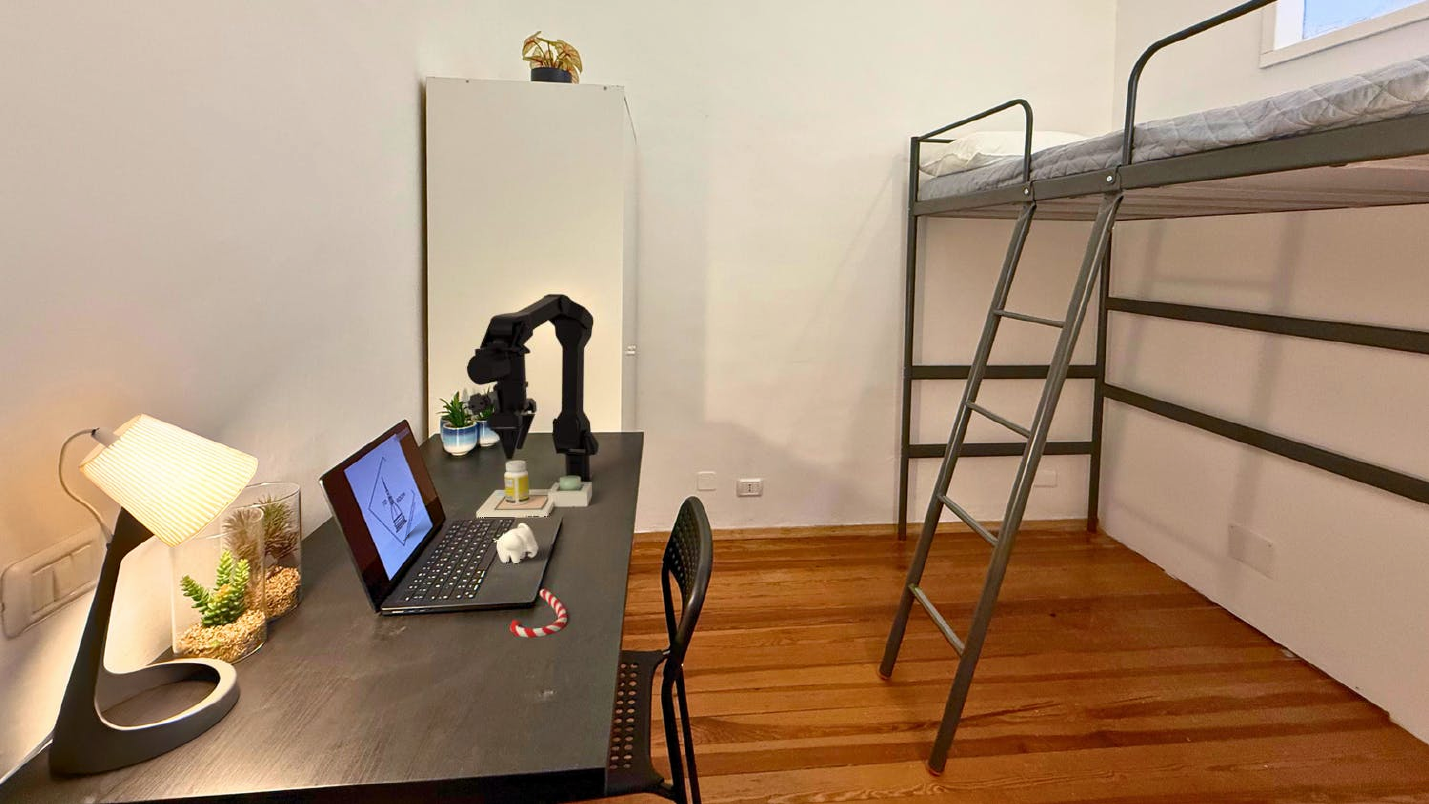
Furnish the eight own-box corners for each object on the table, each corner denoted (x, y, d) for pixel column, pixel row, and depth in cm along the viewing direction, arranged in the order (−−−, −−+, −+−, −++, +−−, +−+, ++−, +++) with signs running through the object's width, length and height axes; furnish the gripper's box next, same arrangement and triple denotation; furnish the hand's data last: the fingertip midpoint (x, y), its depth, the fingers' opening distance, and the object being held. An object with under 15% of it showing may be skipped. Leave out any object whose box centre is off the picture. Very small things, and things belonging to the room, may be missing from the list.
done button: (561, 486, 175) (561, 475, 175) (582, 486, 175) (581, 475, 175) (558, 492, 171) (557, 481, 170) (579, 491, 171) (578, 480, 170)
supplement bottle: (530, 498, 171) (528, 459, 169) (528, 504, 166) (527, 464, 165) (506, 499, 170) (504, 460, 168) (504, 506, 165) (502, 465, 164)
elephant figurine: (530, 569, 135) (529, 535, 134) (485, 566, 136) (483, 532, 135) (546, 555, 141) (544, 522, 140) (502, 552, 143) (501, 519, 142)
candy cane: (565, 586, 126) (567, 627, 111) (565, 594, 126) (568, 636, 111) (513, 590, 124) (509, 633, 110) (513, 598, 124) (509, 642, 110)
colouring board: (496, 495, 178) (495, 489, 178) (560, 494, 178) (560, 488, 178) (476, 517, 162) (476, 511, 162) (547, 517, 162) (547, 510, 162)
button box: (555, 495, 177) (554, 482, 177) (592, 495, 177) (591, 482, 177) (548, 506, 169) (548, 492, 169) (587, 506, 169) (586, 492, 169)
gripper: (482, 372, 172) (486, 444, 175) (457, 385, 154) (461, 465, 157) (535, 372, 173) (538, 444, 175) (516, 384, 154) (520, 465, 157)
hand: (514, 454), depth 166 cm, fingers open, 9 cm apart
